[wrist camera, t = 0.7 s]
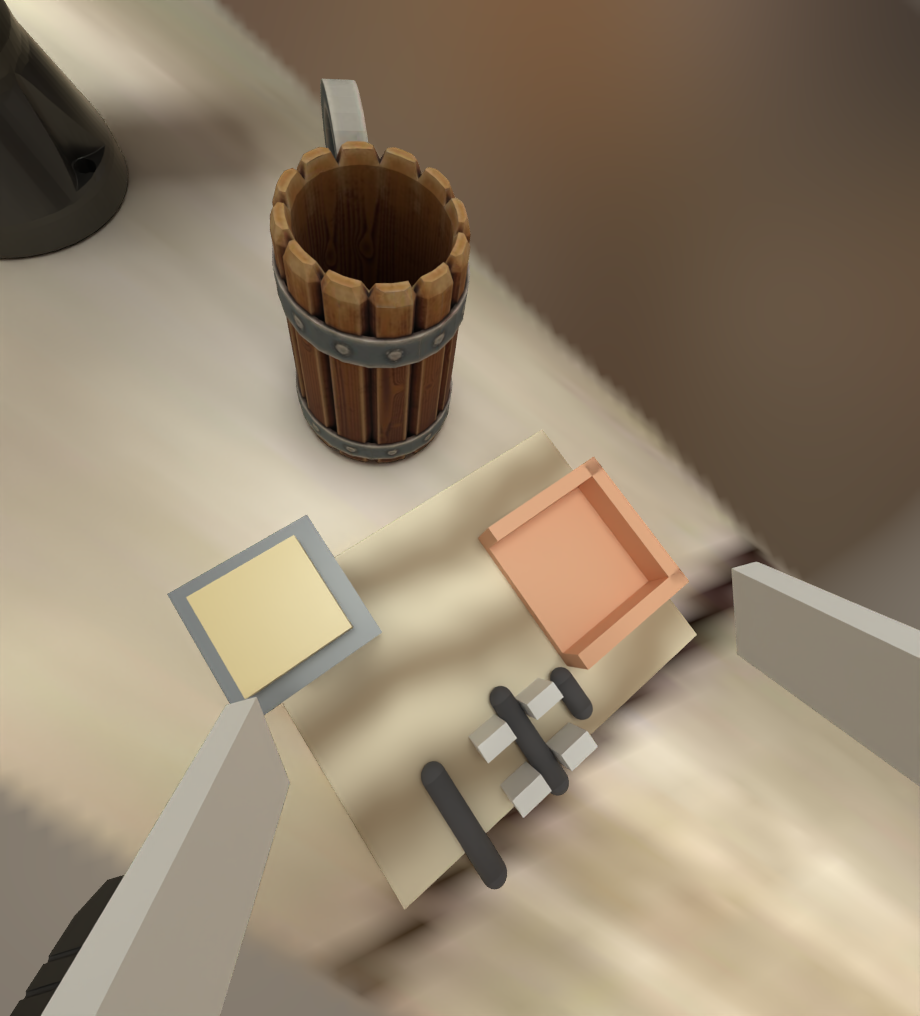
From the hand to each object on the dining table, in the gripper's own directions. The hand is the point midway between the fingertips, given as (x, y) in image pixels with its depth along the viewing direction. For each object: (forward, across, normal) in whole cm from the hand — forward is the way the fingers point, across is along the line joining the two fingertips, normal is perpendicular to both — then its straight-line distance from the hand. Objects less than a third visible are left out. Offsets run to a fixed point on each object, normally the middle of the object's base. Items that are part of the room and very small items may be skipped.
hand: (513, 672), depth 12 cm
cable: (+11, +1, -14) cm, 18 cm away
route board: (+16, 0, -7) cm, 17 cm away
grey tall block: (+14, -9, -4) cm, 17 cm away
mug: (+25, -3, +11) cm, 27 cm away
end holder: (+17, +8, -5) cm, 19 cm away
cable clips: (+12, +1, -13) cm, 17 cm away
